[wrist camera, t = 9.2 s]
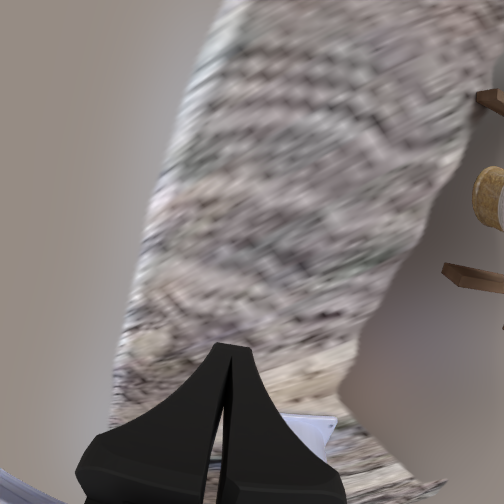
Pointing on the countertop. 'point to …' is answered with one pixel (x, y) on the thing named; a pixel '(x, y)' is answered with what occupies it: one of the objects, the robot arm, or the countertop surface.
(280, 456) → the robot arm
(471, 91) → the countertop surface
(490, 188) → the sprinkles bottle
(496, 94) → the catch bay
